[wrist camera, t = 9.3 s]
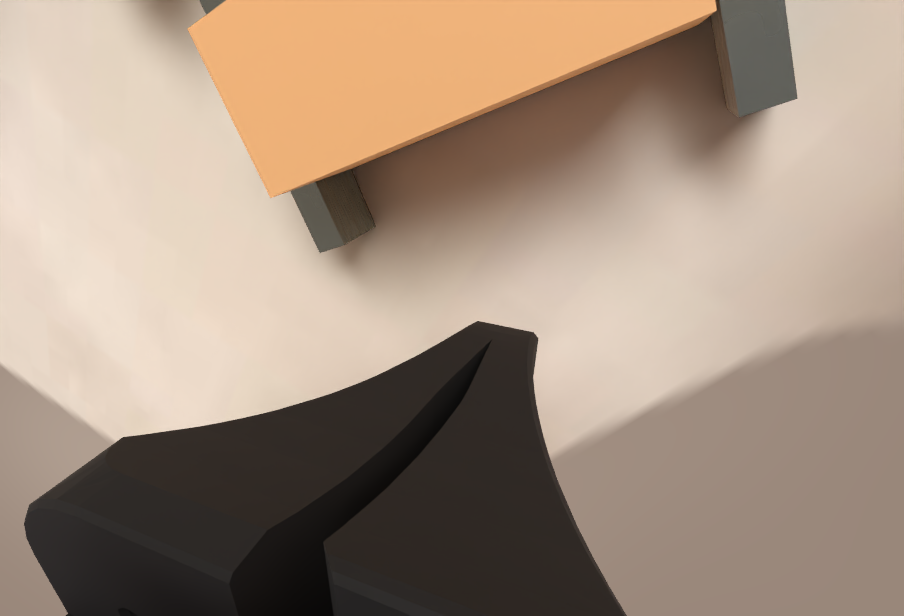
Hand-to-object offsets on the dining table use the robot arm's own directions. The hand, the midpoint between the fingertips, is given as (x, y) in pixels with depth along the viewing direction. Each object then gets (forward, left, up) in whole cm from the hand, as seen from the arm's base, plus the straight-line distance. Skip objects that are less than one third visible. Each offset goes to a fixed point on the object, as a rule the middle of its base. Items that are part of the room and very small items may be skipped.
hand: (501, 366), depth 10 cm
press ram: (+7, 0, -6) cm, 9 cm away
